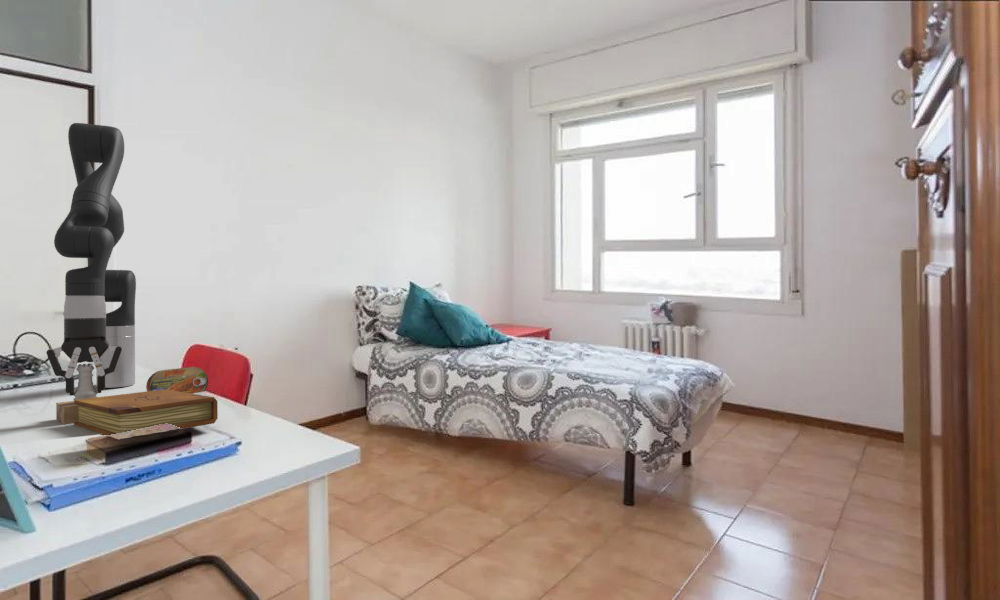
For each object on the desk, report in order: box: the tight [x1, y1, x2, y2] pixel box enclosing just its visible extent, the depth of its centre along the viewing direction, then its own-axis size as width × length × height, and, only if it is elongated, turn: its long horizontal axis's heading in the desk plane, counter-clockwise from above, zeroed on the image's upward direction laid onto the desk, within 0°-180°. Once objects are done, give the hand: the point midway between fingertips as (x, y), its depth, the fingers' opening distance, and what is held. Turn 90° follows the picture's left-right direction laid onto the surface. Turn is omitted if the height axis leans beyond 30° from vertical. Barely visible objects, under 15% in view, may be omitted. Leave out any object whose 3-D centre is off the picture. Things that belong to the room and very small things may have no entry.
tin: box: [145, 366, 209, 394], centre depth 151 cm, size 15×3×8 cm, turn 144°
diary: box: [73, 389, 219, 436], centre depth 120 cm, size 23×19×6 cm
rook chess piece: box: [72, 363, 98, 401], centre depth 125 cm, size 4×4×8 cm
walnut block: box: [55, 400, 79, 425], centre depth 125 cm, size 8×8×4 cm
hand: (85, 393), depth 125 cm, fingers closed on rook chess piece, 4 cm apart
